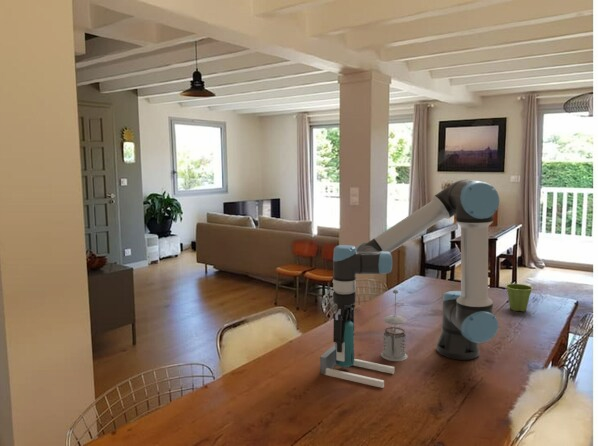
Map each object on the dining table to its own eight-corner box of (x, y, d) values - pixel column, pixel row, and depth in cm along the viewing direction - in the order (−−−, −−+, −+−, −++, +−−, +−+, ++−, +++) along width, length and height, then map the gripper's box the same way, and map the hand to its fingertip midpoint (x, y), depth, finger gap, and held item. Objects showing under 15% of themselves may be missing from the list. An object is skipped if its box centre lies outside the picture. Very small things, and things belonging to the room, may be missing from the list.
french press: (409, 352, 176) (410, 287, 173) (405, 364, 165) (407, 296, 162) (382, 348, 179) (384, 285, 176) (377, 361, 168) (379, 293, 165)
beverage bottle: (353, 372, 158) (353, 314, 155) (333, 370, 159) (333, 313, 156) (355, 364, 164) (355, 308, 161) (336, 362, 165) (336, 307, 163)
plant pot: (532, 308, 228) (534, 285, 226) (529, 314, 218) (531, 291, 216) (506, 304, 234) (507, 282, 232) (502, 310, 224) (503, 287, 222)
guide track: (394, 372, 159) (394, 355, 158) (382, 388, 148) (383, 370, 147) (334, 360, 169) (335, 344, 169) (320, 373, 158) (320, 356, 158)
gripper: (344, 283, 167) (344, 345, 170) (322, 296, 151) (322, 365, 154) (364, 286, 164) (363, 349, 167) (344, 299, 148) (343, 369, 151)
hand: (343, 356), depth 160 cm, fingers closed on beverage bottle, 5 cm apart
